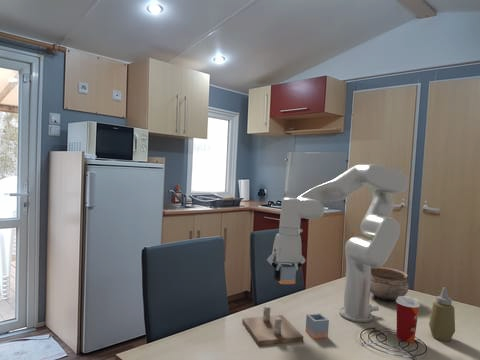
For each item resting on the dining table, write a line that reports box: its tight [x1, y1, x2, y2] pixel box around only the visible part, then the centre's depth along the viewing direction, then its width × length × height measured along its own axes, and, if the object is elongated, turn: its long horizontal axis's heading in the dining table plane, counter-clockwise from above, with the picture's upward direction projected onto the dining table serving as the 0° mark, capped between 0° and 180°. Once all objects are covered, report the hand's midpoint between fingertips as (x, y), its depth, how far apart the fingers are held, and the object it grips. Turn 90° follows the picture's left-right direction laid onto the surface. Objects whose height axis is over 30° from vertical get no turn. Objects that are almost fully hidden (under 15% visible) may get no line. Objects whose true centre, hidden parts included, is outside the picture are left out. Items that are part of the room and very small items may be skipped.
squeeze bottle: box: [428, 287, 456, 342], centre depth 123 cm, size 8×8×18 cm
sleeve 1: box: [277, 263, 297, 285], centre depth 127 cm, size 6×6×6 cm
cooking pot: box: [370, 266, 410, 302], centre depth 160 cm, size 25×19×12 cm
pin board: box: [241, 305, 304, 346], centre depth 121 cm, size 16×17×6 cm
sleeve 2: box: [305, 312, 330, 339], centre depth 120 cm, size 6×6×6 cm
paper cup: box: [395, 295, 421, 344], centre depth 121 cm, size 8×8×14 cm
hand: (284, 279), depth 127 cm, fingers closed on sleeve 1, 5 cm apart
